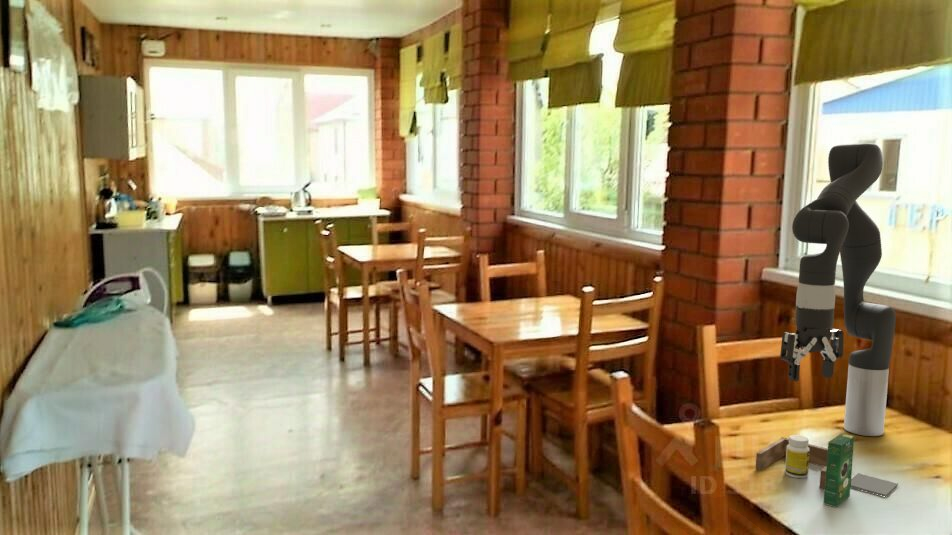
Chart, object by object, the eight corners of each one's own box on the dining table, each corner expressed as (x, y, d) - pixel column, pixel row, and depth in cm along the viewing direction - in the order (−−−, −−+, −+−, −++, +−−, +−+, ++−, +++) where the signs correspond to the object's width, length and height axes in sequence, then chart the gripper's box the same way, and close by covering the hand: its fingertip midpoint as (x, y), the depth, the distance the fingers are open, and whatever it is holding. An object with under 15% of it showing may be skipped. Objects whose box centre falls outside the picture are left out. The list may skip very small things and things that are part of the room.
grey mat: (858, 475, 171) (858, 473, 171) (897, 486, 165) (897, 483, 165) (845, 486, 165) (845, 483, 165) (885, 497, 160) (886, 494, 160)
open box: (781, 453, 184) (782, 437, 183) (847, 471, 173) (849, 454, 173) (755, 469, 174) (756, 452, 173) (824, 489, 163) (825, 471, 163)
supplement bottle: (810, 479, 168) (812, 442, 167) (787, 477, 169) (789, 440, 168) (805, 471, 173) (807, 435, 172) (782, 469, 174) (785, 433, 173)
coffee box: (836, 491, 162) (841, 431, 161) (850, 495, 160) (855, 435, 159) (822, 503, 157) (826, 441, 155) (837, 508, 155) (841, 445, 153)
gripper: (829, 299, 169) (824, 372, 172) (775, 303, 165) (770, 376, 167) (855, 305, 162) (850, 381, 164) (799, 309, 158) (794, 386, 160)
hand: (810, 378), depth 166 cm, fingers open, 8 cm apart
